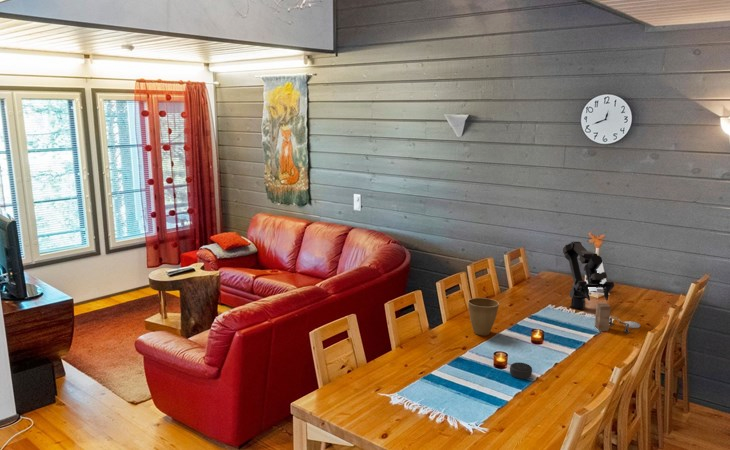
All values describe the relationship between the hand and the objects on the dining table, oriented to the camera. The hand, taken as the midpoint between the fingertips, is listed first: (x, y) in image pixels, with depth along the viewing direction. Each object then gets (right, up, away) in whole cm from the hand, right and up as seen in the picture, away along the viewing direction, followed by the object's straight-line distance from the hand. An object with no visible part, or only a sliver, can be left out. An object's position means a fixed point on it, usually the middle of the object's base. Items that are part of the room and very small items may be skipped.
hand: (598, 300), depth 305 cm
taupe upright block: (0, -14, -4) cm, 15 cm away
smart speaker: (-55, -24, -58) cm, 84 cm away
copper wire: (+9, -14, -2) cm, 17 cm away
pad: (+18, -13, +1) cm, 22 cm away
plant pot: (-62, -15, -11) cm, 65 cm away
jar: (+20, -2, +63) cm, 67 cm away
